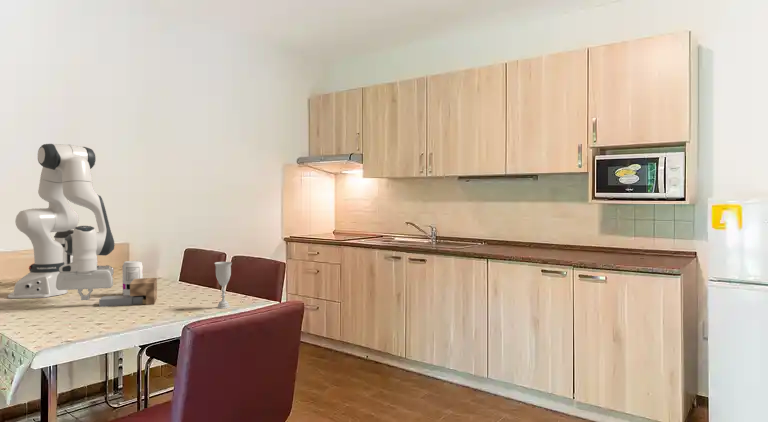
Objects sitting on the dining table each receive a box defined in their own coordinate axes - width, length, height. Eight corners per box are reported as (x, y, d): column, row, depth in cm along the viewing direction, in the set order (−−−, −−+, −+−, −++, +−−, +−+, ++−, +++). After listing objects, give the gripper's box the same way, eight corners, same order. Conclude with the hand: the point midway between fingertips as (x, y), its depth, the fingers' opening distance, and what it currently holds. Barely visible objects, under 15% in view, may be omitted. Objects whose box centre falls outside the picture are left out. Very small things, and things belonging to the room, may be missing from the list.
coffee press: (51, 283, 268) (51, 224, 267) (87, 281, 275) (87, 223, 274) (46, 288, 253) (45, 226, 252) (84, 286, 259) (83, 225, 258)
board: (99, 307, 213) (99, 299, 213) (102, 303, 220) (102, 296, 220) (142, 304, 218) (142, 297, 218) (144, 301, 225) (144, 294, 225)
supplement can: (118, 295, 236) (118, 262, 236) (132, 292, 244) (132, 260, 243) (133, 297, 234) (133, 263, 233) (146, 293, 242) (146, 261, 241)
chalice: (211, 306, 214) (211, 262, 213) (227, 304, 218) (227, 261, 218) (219, 309, 208) (218, 264, 208) (235, 307, 213) (235, 263, 212)
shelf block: (130, 305, 215) (129, 283, 215) (134, 299, 228) (134, 278, 228) (154, 304, 218) (153, 282, 217) (157, 298, 231) (156, 277, 231)
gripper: (114, 264, 220) (115, 297, 221) (58, 265, 214) (59, 299, 214) (112, 266, 214) (112, 299, 215) (54, 267, 208) (54, 302, 208)
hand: (85, 299), depth 215 cm, fingers closed
